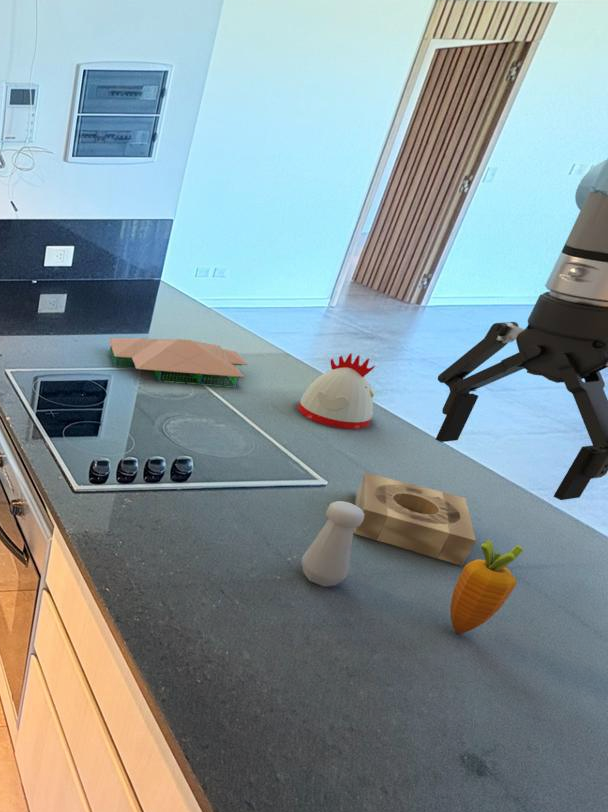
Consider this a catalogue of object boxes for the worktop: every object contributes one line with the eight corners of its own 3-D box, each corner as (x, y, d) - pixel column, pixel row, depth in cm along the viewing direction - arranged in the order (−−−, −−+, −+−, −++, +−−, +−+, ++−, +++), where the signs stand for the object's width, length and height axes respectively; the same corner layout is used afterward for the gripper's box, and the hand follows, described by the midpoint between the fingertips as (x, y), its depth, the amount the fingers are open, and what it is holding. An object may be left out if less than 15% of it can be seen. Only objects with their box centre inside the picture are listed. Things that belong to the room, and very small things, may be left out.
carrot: (431, 632, 84) (479, 544, 77) (436, 613, 87) (483, 527, 80) (479, 653, 80) (533, 563, 74) (483, 632, 83) (535, 544, 77)
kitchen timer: (357, 434, 134) (382, 371, 127) (288, 413, 144) (308, 353, 137) (377, 416, 142) (401, 356, 135) (311, 397, 151) (330, 339, 145)
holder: (453, 522, 106) (465, 497, 104) (462, 566, 96) (476, 540, 93) (355, 495, 113) (365, 472, 111) (353, 533, 103) (364, 509, 101)
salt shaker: (341, 573, 94) (371, 503, 88) (344, 596, 90) (375, 523, 84) (297, 560, 97) (323, 491, 91) (297, 582, 92) (325, 510, 87)
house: (252, 389, 155) (261, 359, 152) (116, 378, 161) (121, 349, 158) (227, 357, 175) (234, 330, 172) (106, 348, 181) (111, 322, 178)
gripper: (445, 271, 76) (384, 423, 86) (726, 338, 54) (601, 531, 64) (494, 269, 78) (428, 418, 87) (786, 332, 56) (656, 522, 65)
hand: (501, 466), depth 75 cm, fingers open, 13 cm apart
